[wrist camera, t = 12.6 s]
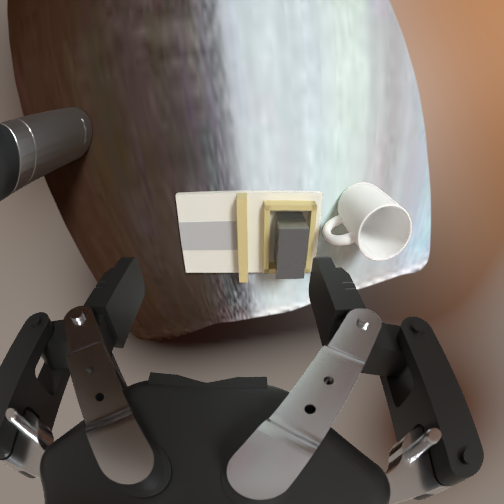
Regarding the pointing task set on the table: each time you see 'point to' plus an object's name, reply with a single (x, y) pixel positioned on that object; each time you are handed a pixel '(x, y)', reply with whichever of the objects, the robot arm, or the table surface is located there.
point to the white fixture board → (240, 229)
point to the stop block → (290, 245)
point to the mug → (370, 222)
